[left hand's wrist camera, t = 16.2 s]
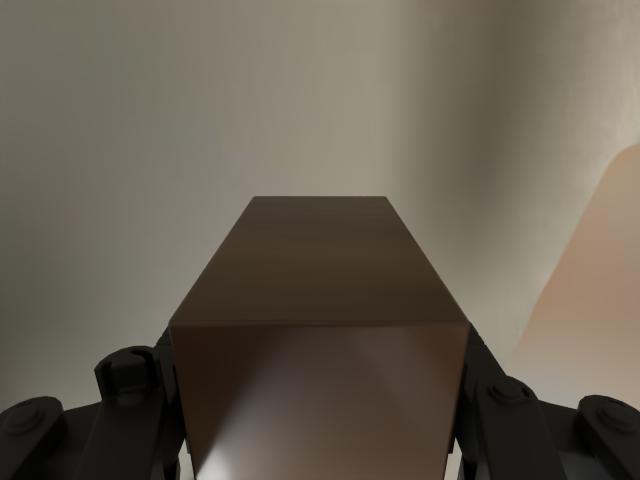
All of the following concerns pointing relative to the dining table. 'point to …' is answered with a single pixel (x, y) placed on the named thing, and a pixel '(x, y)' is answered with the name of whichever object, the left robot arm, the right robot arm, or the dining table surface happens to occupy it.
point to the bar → (319, 347)
